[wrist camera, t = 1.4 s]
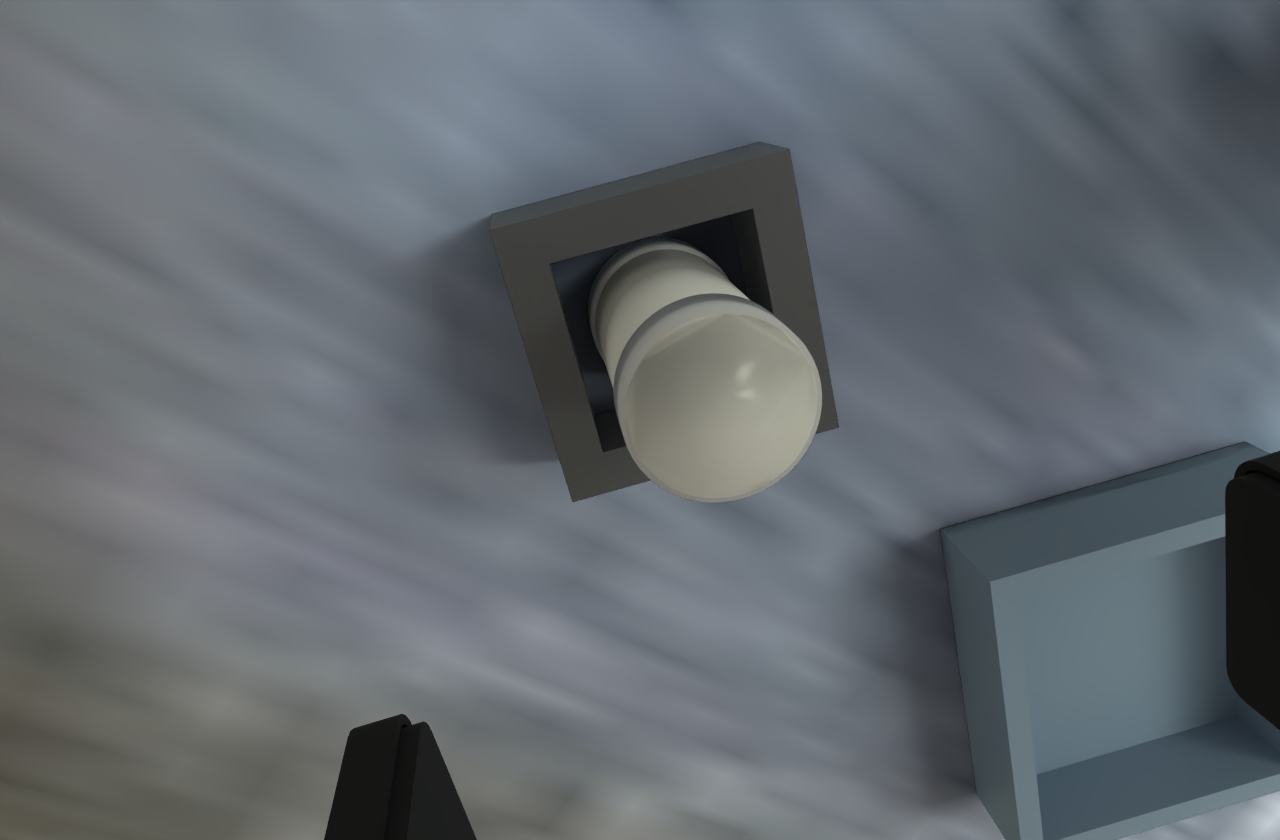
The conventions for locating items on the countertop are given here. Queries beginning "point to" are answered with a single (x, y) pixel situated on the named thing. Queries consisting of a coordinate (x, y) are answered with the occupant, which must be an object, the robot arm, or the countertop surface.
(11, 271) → the countertop surface
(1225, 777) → the parts tray
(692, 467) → the cylinder
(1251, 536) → the robot arm
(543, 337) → the frame
